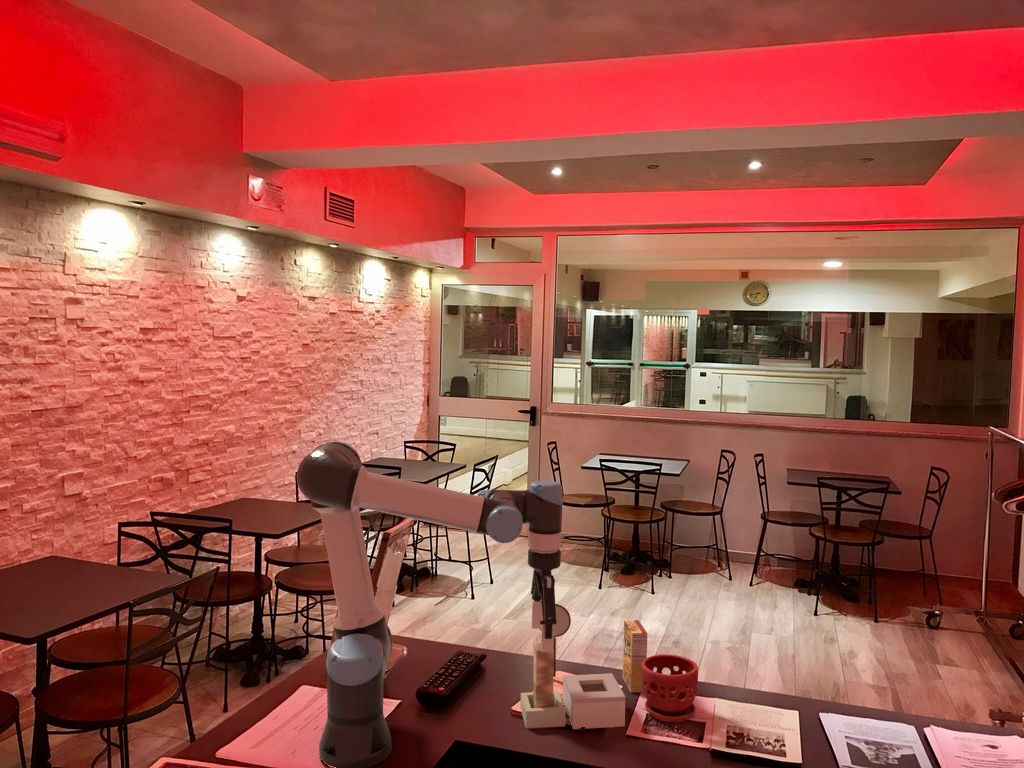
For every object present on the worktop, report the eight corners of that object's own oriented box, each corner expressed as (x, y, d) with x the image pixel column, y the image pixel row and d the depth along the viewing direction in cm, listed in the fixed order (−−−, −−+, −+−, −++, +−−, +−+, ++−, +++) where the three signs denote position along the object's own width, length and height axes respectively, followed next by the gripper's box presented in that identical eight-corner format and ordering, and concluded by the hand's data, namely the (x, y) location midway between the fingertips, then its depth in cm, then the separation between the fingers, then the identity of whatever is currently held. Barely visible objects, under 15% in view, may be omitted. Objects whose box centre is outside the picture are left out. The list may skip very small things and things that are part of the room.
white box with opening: (573, 729, 177) (573, 699, 176) (562, 703, 188) (563, 675, 188) (624, 726, 178) (625, 696, 178) (611, 701, 190) (611, 673, 189)
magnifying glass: (570, 679, 202) (571, 603, 200) (569, 682, 200) (571, 605, 199) (536, 677, 202) (537, 602, 201) (536, 680, 201) (537, 604, 199)
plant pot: (701, 706, 188) (703, 658, 187) (690, 732, 176) (691, 680, 175) (648, 695, 193) (649, 648, 192) (633, 719, 181) (634, 669, 180)
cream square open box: (526, 728, 177) (526, 711, 176) (520, 709, 186) (520, 692, 185) (565, 726, 178) (565, 709, 178) (557, 707, 187) (558, 690, 186)
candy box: (621, 677, 203) (622, 619, 202) (637, 676, 203) (638, 619, 202) (630, 693, 194) (631, 633, 193) (646, 692, 195) (648, 632, 194)
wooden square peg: (535, 722, 179) (536, 650, 178) (533, 714, 183) (533, 643, 182) (552, 721, 180) (553, 649, 179) (549, 713, 184) (550, 642, 183)
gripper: (571, 565, 167) (568, 661, 168) (551, 534, 192) (548, 618, 193) (537, 565, 166) (534, 662, 168) (520, 534, 191) (518, 619, 192)
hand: (541, 639), depth 180 cm, fingers open, 13 cm apart
